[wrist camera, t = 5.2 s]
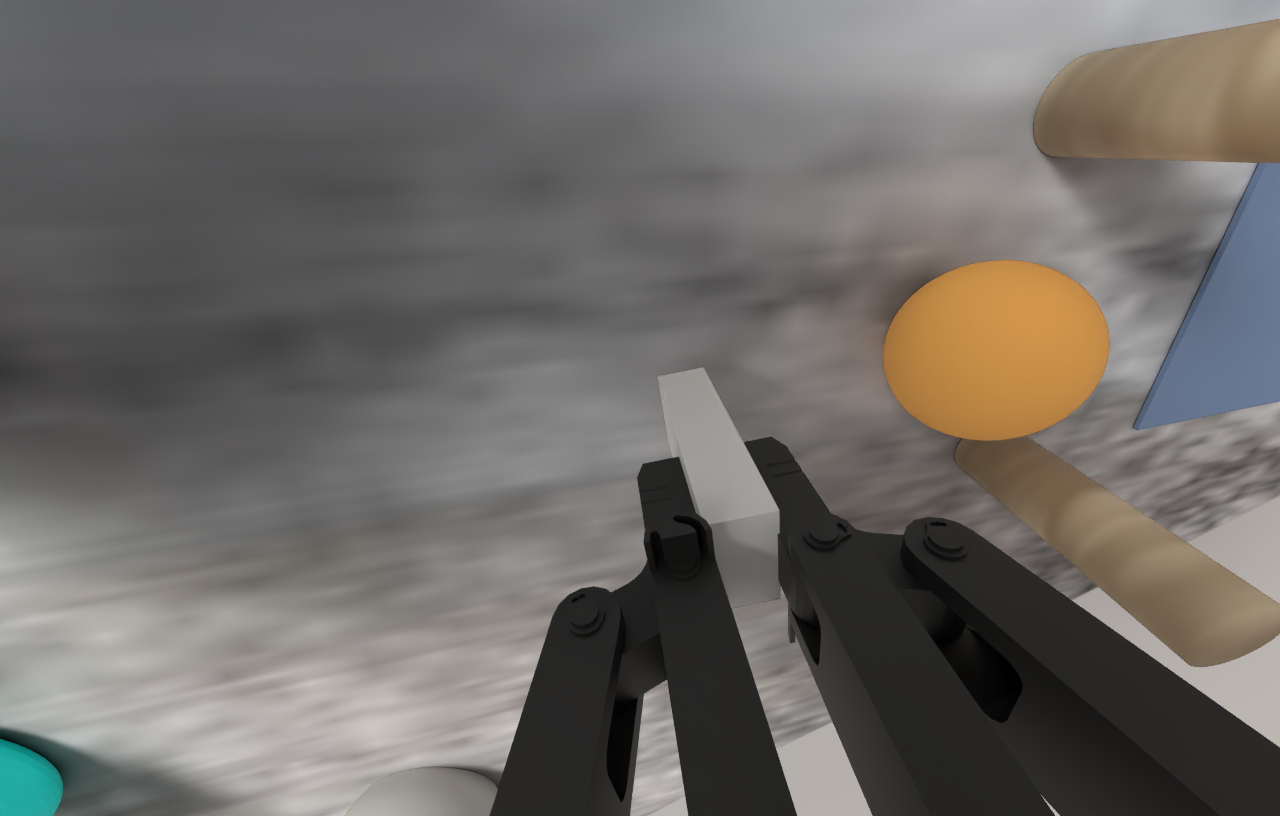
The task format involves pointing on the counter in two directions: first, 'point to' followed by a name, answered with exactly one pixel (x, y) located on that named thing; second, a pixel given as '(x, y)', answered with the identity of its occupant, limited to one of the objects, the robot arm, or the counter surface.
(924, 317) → the ball
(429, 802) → the saucepan
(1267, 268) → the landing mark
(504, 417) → the counter surface
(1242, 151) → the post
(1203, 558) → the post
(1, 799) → the donuts
